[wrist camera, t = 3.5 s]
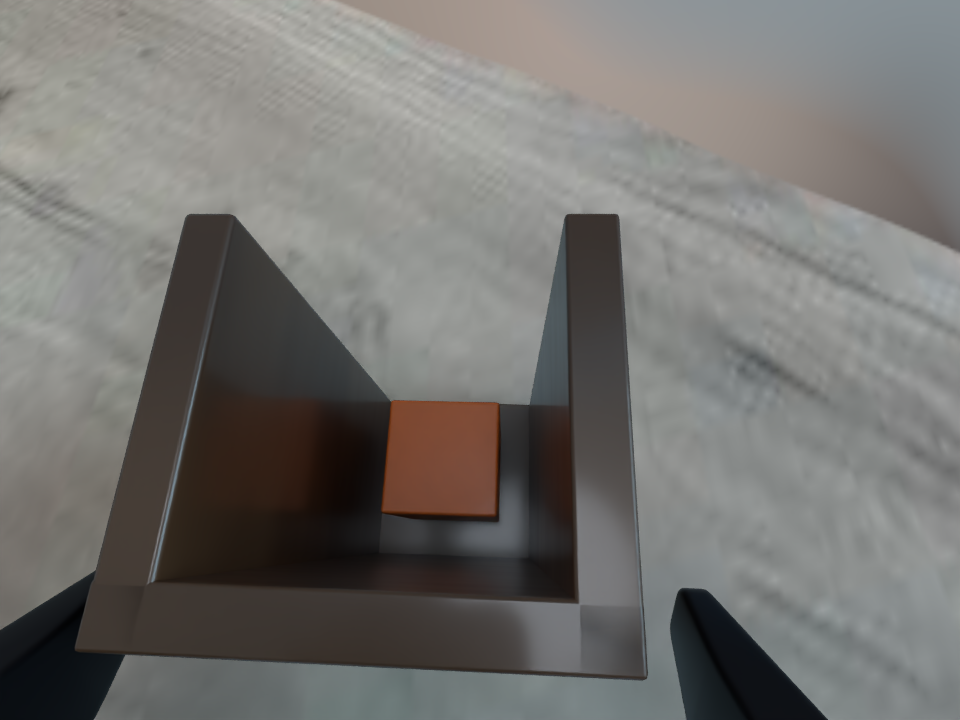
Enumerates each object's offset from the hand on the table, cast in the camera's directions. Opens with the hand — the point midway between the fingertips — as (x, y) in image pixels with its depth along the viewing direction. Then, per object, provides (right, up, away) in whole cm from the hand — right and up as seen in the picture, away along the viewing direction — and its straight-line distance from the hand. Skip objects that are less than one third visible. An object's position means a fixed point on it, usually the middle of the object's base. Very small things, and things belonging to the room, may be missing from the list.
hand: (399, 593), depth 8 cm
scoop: (0, -1, +10) cm, 10 cm away
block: (0, 0, +10) cm, 9 cm away
